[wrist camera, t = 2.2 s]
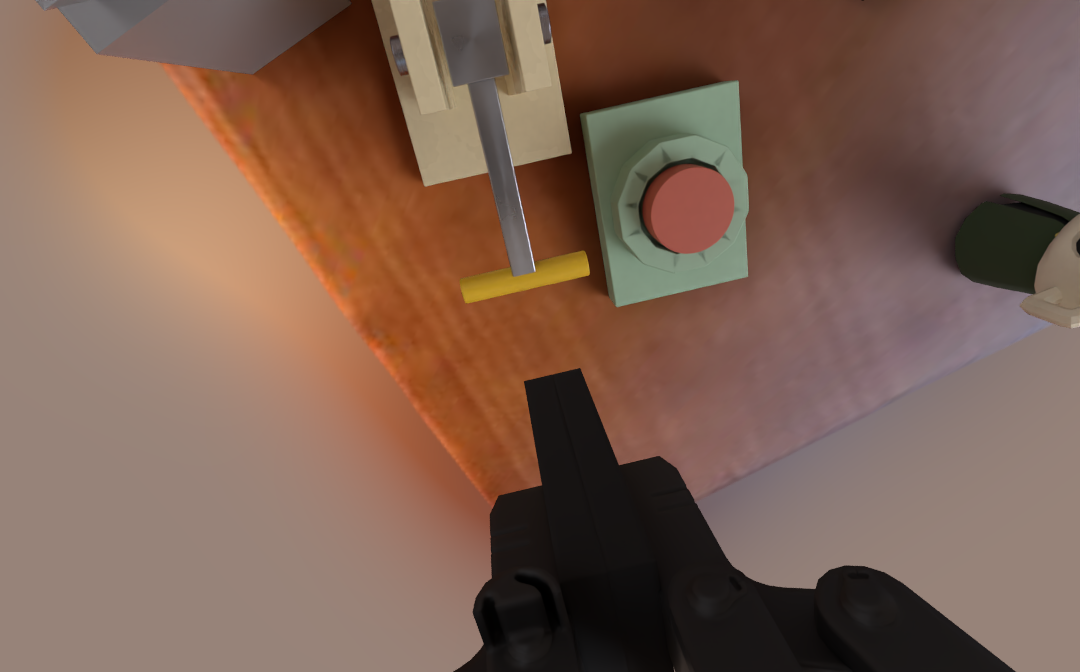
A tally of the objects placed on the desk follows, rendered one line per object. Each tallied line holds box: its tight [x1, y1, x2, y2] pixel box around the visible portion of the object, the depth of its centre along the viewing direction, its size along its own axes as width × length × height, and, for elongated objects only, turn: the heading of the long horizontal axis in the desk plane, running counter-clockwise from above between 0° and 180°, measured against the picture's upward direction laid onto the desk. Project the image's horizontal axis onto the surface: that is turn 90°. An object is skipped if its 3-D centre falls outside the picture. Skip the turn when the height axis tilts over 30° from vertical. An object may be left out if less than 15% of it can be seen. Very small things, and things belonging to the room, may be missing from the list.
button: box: [642, 164, 734, 254], centre depth 31 cm, size 5×5×2 cm
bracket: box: [371, 0, 572, 187], centre depth 25 cm, size 12×9×13 cm
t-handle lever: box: [432, 0, 590, 303], centre depth 23 cm, size 12×6×2 cm, turn 12°
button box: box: [580, 80, 749, 307], centre depth 33 cm, size 12×9×4 cm
